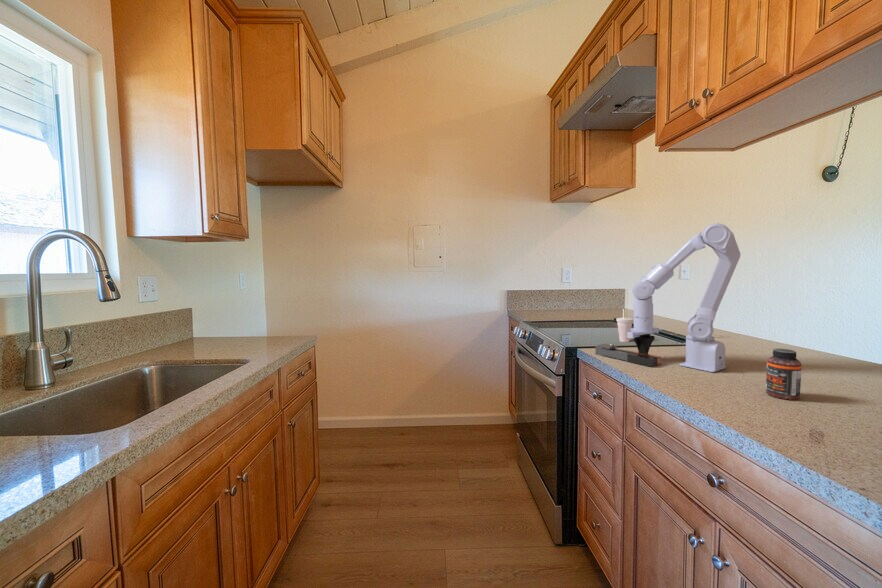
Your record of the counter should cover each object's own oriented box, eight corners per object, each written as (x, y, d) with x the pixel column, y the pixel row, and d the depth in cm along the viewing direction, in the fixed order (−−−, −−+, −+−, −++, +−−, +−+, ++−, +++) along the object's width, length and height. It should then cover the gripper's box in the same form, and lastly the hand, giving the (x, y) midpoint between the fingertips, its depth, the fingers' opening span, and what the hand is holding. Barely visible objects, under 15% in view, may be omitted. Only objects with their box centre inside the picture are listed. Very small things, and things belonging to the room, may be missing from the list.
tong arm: (661, 363, 113) (661, 356, 113) (657, 365, 112) (657, 357, 111) (610, 353, 128) (610, 346, 128) (606, 354, 127) (606, 347, 126)
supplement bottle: (759, 394, 86) (761, 349, 85) (774, 390, 88) (775, 346, 87) (791, 402, 80) (793, 354, 79) (805, 398, 82) (807, 351, 81)
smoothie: (612, 340, 150) (612, 308, 149) (622, 338, 153) (623, 307, 152) (626, 343, 144) (626, 309, 143) (636, 341, 147) (636, 308, 146)
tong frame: (659, 365, 112) (659, 352, 112) (651, 367, 110) (651, 354, 110) (602, 352, 131) (602, 341, 131) (594, 354, 129) (594, 343, 128)
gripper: (644, 313, 124) (644, 351, 125) (618, 317, 117) (618, 357, 118) (665, 315, 118) (664, 355, 119) (638, 320, 111) (638, 361, 112)
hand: (643, 356), depth 118 cm, fingers closed
